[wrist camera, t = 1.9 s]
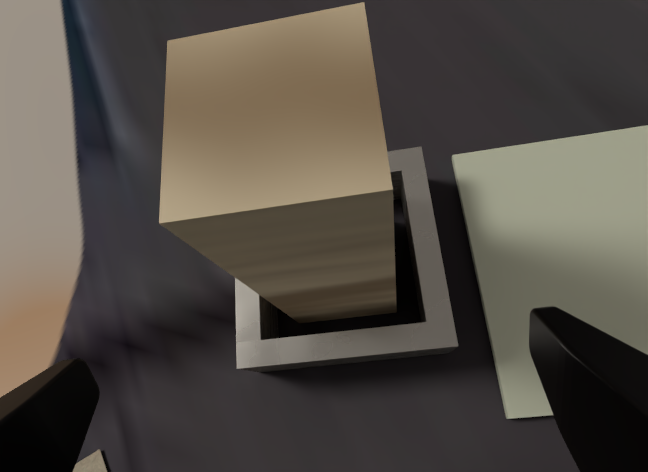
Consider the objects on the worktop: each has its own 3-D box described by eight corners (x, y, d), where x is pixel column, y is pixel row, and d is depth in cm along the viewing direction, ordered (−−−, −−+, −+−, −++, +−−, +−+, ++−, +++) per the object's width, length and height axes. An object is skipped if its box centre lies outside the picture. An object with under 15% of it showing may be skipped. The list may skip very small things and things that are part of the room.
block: (396, 312, 20) (393, 189, 8) (299, 323, 21) (159, 223, 9) (383, 220, 22) (363, 2, 10) (293, 233, 22) (167, 40, 10)
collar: (449, 353, 19) (458, 346, 16) (259, 372, 20) (236, 369, 17) (418, 177, 22) (421, 146, 19) (253, 202, 23) (233, 175, 20)
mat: (837, 390, 17) (848, 390, 16) (506, 418, 18) (508, 418, 18) (713, 119, 21) (719, 114, 20) (451, 159, 22) (452, 154, 22)
